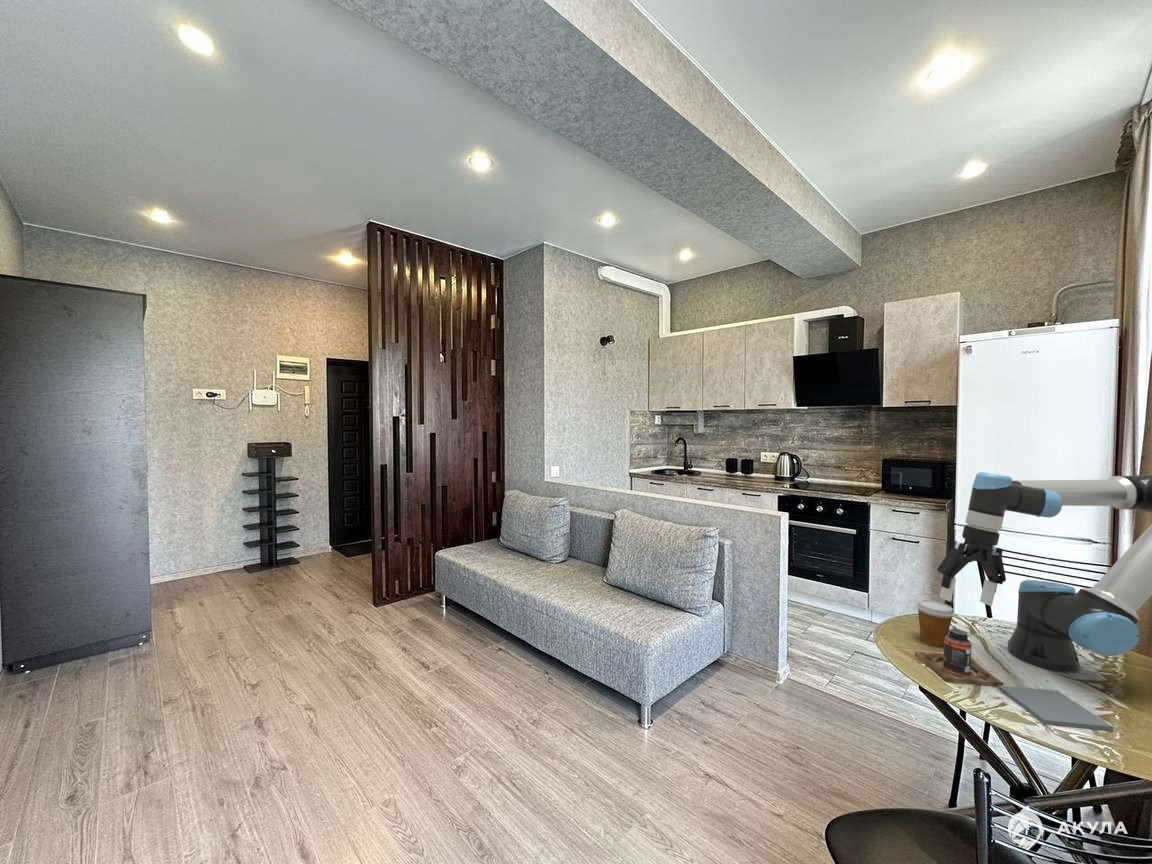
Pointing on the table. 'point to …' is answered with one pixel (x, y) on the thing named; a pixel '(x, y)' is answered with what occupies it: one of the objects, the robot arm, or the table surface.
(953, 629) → the supplement bottle
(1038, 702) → the slate pad
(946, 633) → the disposable coffee cup
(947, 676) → the socket board
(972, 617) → the table surface
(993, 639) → the table surface
